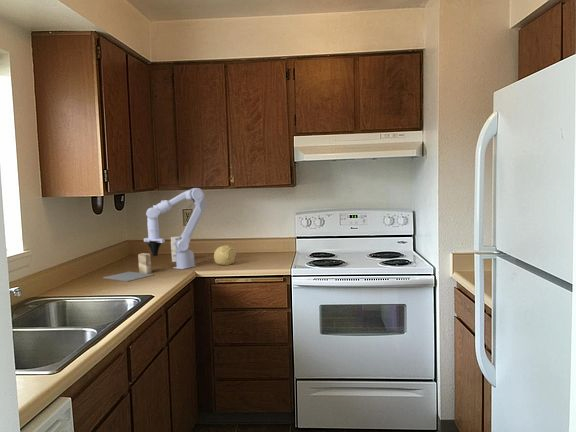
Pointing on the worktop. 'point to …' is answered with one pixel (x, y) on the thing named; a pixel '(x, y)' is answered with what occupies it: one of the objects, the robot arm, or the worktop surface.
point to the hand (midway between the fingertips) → (155, 255)
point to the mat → (128, 276)
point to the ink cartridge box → (173, 248)
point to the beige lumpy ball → (225, 255)
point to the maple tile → (144, 263)
